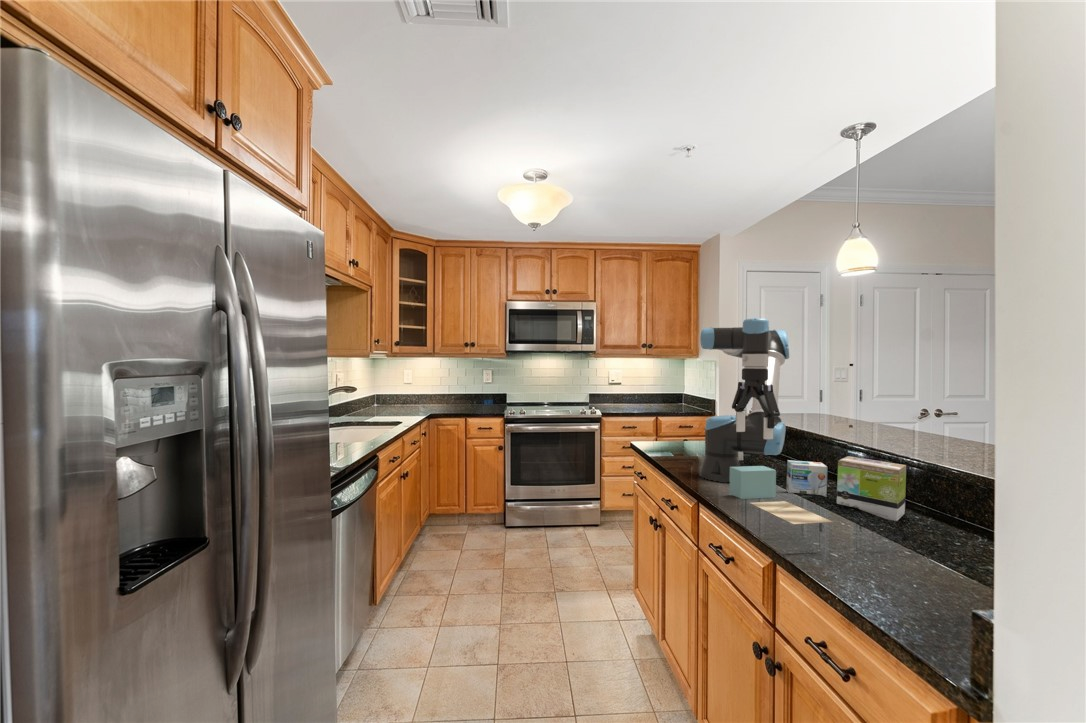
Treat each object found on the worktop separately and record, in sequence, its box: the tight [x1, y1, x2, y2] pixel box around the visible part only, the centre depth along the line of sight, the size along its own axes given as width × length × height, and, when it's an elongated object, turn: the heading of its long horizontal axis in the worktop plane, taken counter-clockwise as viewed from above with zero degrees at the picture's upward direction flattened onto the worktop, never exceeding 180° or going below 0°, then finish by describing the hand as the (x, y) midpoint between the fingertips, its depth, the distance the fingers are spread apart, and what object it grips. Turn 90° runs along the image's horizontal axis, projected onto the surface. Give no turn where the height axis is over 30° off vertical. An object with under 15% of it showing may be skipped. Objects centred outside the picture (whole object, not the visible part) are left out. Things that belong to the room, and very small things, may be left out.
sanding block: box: [728, 465, 777, 500], centre depth 145 cm, size 6×12×10 cm, turn 101°
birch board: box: [750, 500, 834, 525], centre depth 129 cm, size 18×12×2 cm, turn 11°
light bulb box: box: [785, 459, 828, 498], centre depth 151 cm, size 11×7×11 cm, turn 74°
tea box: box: [836, 455, 907, 522], centre depth 135 cm, size 15×10×15 cm
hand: (753, 435), depth 145 cm, fingers open, 13 cm apart
